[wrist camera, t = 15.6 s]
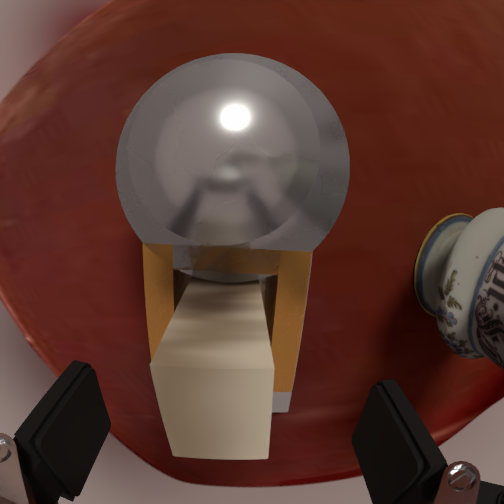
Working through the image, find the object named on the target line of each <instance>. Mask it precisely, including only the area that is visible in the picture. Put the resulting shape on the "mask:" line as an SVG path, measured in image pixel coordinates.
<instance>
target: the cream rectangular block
mask: <svg viewBox="0 0 504 504" xmlns="http://www.w3.org/2000/svg"><path fill="white" fill-rule="evenodd" d="M150 369H151V374H152V378H153V383H154V387H155V391H156V396H157V400H158V404H159V408H160V412H161V415H162V419H163V423H164V427H165V430H166V434H167V437H168V440H169V444H170V447H171V450H172V453H173V456H178V457H189V458H203V459H229V460H248V459H268V453H269V440H270V428H271V414H272V400H273V384H274V363H273V357H272V351H271V346H270V340H269V334H268V329H267V323H266V317H265V312H264V306H263V300H262V295H261V289H260V283H259V279H258V280H253V281H246V282H217V281H209V280H205V279H201V278H197V277H194V276H192V277H191V279H190V281H189V283H188V285H187V287H186V289H185V292H184V294H183V296H182V298H181V300H180V302H179V304H178V306H177V308H176V310H175V312H174V314H173V316H172V318H171V320H170V322H169V325H168V327H167V329H166V331H165V333H164V335H163V337H162V339H161V341H160V344H159V346H158V348H157V350H156V352H155V354H154V357H153V359H152V361H151V363H150Z"/></svg>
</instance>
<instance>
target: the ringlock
mask: <svg viewBox="0 0 504 504" xmlns="http://www.w3.org/2000/svg"><path fill="white" fill-rule="evenodd" d="M349 176H350V158H349V150H348V144H347V140H346V136H345V133H344V129H343V127H342V125H341V122H340V120H339V118H338V115H337V114H336V112H335V110H334V109H333V107H332V105H331V104H330V102H329V101H328V100H327V98H326V97H325V96H324V95H323V93H322V92H321V91H320V90H319V89H318V88H317V87H316V86H315V85H314V84H313V83H312V82H311V81H310V80H308V79H307V78H306V77H304V76H303V75H301V74H300V73H299V72H297V71H296V70H294V69H292V68H290V67H288V66H286V65H284V64H282V63H280V62H277V61H274V60H272V59H269V58H265V57H261V56H257V55H250V54H241V53H229V54H218V55H211V56H207V57H203V58H199V59H196V60H193V61H191V62H188V63H186V64H184V65H181V66H179V67H177V68H176V69H174V70H172V71H171V72H169V73H167V74H166V75H165V76H163V77H162V78H161V79H159V80H158V81H157V82H156V83H154V84H153V85H152V86H151V87H150V88H149V89H148V90H147V91H146V92H145V94H144V95H143V96H142V97H141V98H140V100H139V101H138V102H137V104H136V105H135V106H134V108H133V110H132V112H131V113H130V115H129V117H128V119H127V121H126V123H125V126H124V128H123V131H122V133H121V137H120V140H119V144H118V148H117V156H116V183H117V190H118V195H119V198H120V202H121V205H122V208H123V210H124V213H125V215H126V217H127V220H128V222H129V223H130V225H131V227H132V228H133V230H134V231H135V233H136V234H137V236H138V237H139V238H140V239H141V241H142V242H143V267H144V287H145V302H146V315H147V326H148V336H149V345H150V353H151V361H152V359H153V357H154V354H155V352H156V350H157V348H158V346H159V344H160V341H161V339H162V337H163V335H164V333H165V331H166V329H167V327H168V325H169V322H170V320H171V318H172V316H173V314H174V312H175V310H176V308H177V306H178V304H179V302H180V300H181V298H182V296H183V294H184V292H185V289H186V287H187V285H188V283H189V281H190V279H191V277H192V276H194V277H197V278H201V279H205V280H209V281H217V282H246V281H253V280H258V279H259V283H260V289H261V295H262V300H263V306H264V312H265V317H266V323H267V329H268V334H269V340H270V346H271V351H272V357H273V363H274V384H273V400H272V412H288V409H289V404H290V398H291V393H292V388H293V383H294V377H295V371H296V366H297V360H298V354H299V348H300V342H301V335H302V329H303V322H304V315H305V308H306V301H307V294H308V286H309V278H310V270H311V262H312V253H313V250H314V249H315V248H316V247H317V246H318V245H319V244H320V243H321V242H322V240H323V239H324V238H325V237H326V235H327V234H328V233H329V231H330V230H331V228H332V227H333V225H334V223H335V221H336V220H337V218H338V216H339V214H340V211H341V209H342V206H343V204H344V201H345V197H346V193H347V190H348V183H349Z"/></svg>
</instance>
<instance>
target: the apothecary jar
mask: <svg viewBox="0 0 504 504" xmlns="http://www.w3.org/2000/svg"><path fill="white" fill-rule="evenodd" d="M414 287H415V292H416V296H417V299H418V301H419V303H420V305H421V307H422V308H423V309H424V310H425V311H426V312H427V313H428V314H430V315H432V316H434V317H437V324H438V328H439V331H440V334H441V336H442V338H443V340H444V342H445V343H446V345H447V346H448V347H449V348H450V349H451V350H452V351H453V352H454V353H456V354H457V355H459V356H461V357H464V358H470V359H478V358H482V357H487V358H489V359H490V360H492V361H493V362H494V363H496V364H497V365H498V366H499V367H501V368H502V369H503V370H504V208H494V209H490V210H487V211H485V212H483V213H481V214H480V215H478V216H477V217H475V218H473V217H472V216H470V215H467V214H462V213H457V214H452V215H449V216H446V217H445V218H443V219H442V220H440V221H439V222H438V223H437V224H436V225H435V226H434V227H433V228H432V229H431V230H430V232H429V233H428V235H427V236H426V238H425V240H424V241H423V244H422V246H421V248H420V251H419V253H418V256H417V260H416V264H415V272H414Z"/></svg>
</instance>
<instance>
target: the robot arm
mask: <svg viewBox="0 0 504 504" xmlns="http://www.w3.org/2000/svg"><path fill="white" fill-rule="evenodd" d="M110 427H111V422H110V418H109V415H108V412H107V409H106V406H105V403H104V400H103V397H102V394H101V390H100V387H99V383H98V380H97V376H96V372H95V370H94V369H92V368H91V365H90V364H88V363H84V362H80V361H76V360H75V361H73V362H72V363H71V364H70V365H69V366H68V367H67V368H66V370H65V371H64V372H63V373H62V374H61V376H60V377H59V378H58V379H57V381H56V382H55V383H54V384H53V385H52V387H51V388H50V389H49V390H48V391H47V393H46V394H45V395H44V397H43V398H42V399H41V400H40V401H39V403H38V404H37V405H36V407H35V408H34V409H33V410H32V412H31V413H30V414H29V416H28V417H27V418H26V420H25V421H24V422H23V423H22V425H21V426H20V427H19V429H18V430H17V431H16V433H15V434H14V435H15V437H14V439H12V438H11V437H10V436H8V435H6V434H4V433H0V504H58V500H59V498H60V496H61V497H63V498H66V499H68V500H70V501H73V500H74V498H75V496H79V495H80V493H81V491H82V489H83V486H84V484H85V482H86V480H87V478H88V475H89V473H90V471H91V469H92V466H93V464H94V462H95V460H96V458H97V456H98V454H99V451H100V449H101V447H102V445H103V443H104V441H105V439H106V437H107V435H108V432H109V430H110ZM352 445H353V448H354V451H355V453H356V456H357V459H358V462H359V465H360V468H361V471H362V474H363V476H364V479H365V482H366V485H367V488H368V491H369V494H370V497H371V500H372V503H373V504H504V486H501V485H497V484H492V483H488V482H484V481H480V474H479V471H478V470H477V468H476V467H475V466H474V465H472V464H471V463H468V462H463V461H459V462H454V463H452V464H450V465H449V466H448V465H447V463H446V462H447V461H446V459H445V458H444V456H443V455H442V453H441V451H440V449H439V448H438V446H437V445H436V443H435V441H434V440H433V438H432V436H431V435H430V433H429V432H428V430H427V428H426V427H425V425H424V424H423V422H422V420H421V419H420V417H419V416H418V414H417V413H416V411H415V409H414V408H413V406H412V405H411V403H410V402H409V400H408V399H407V397H406V396H405V394H404V392H403V391H402V389H401V388H400V386H399V385H398V383H397V382H396V381H395V380H394V379H391V380H383V381H378V382H377V383H376V385H374V386H373V387H372V388H371V391H370V393H369V396H368V399H367V401H366V404H365V406H364V409H363V411H362V414H361V416H360V419H359V421H358V424H357V426H356V428H355V431H354V433H353V435H352Z"/></svg>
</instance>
